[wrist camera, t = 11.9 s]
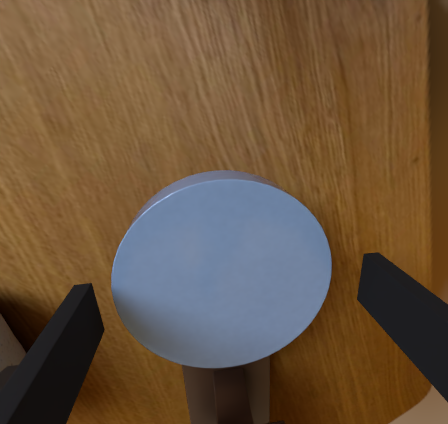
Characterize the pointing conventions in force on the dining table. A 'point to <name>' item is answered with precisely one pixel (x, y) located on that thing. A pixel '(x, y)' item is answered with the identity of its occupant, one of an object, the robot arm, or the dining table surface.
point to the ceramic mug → (9, 347)
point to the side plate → (220, 270)
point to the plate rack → (229, 393)
